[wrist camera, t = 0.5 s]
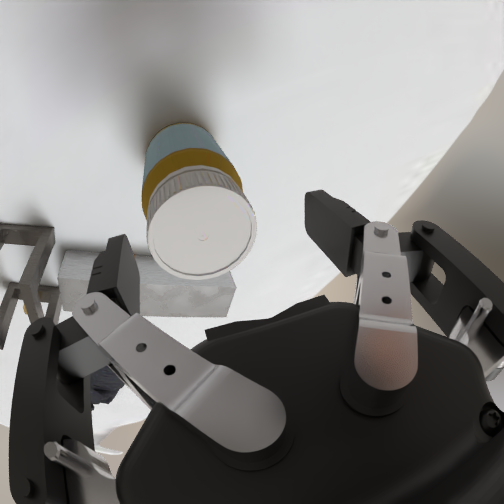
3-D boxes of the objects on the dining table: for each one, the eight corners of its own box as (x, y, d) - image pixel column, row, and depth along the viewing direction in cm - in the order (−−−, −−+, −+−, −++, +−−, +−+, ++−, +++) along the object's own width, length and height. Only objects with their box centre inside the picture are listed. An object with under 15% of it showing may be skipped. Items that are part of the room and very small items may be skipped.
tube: (70, 282, 31) (63, 311, 27) (66, 249, 29) (57, 277, 25) (217, 290, 39) (226, 317, 35) (226, 260, 37) (236, 287, 33)
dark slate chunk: (151, 356, 45) (154, 380, 41) (105, 402, 51) (106, 421, 47) (67, 325, 36) (64, 350, 32) (40, 381, 41) (38, 401, 38)
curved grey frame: (-3, 223, 23) (-37, 276, 16) (54, 227, 27) (29, 284, 19) (13, 293, 29) (-5, 348, 22) (63, 298, 32) (52, 357, 25)
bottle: (211, 187, 30) (252, 282, 19) (145, 186, 28) (141, 287, 16) (220, 123, 26) (277, 181, 15) (149, 120, 24) (138, 175, 13)
